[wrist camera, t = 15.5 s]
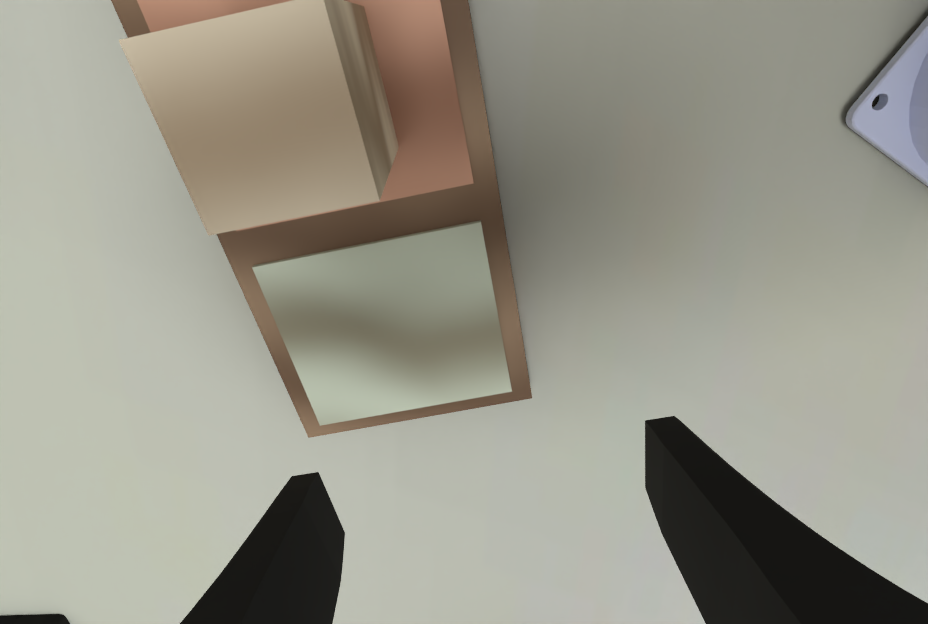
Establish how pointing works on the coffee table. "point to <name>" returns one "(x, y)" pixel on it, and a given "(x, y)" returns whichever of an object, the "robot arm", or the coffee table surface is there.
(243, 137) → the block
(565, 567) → the coffee table surface
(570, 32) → the coffee table surface
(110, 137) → the coffee table surface
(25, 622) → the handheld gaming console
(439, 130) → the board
